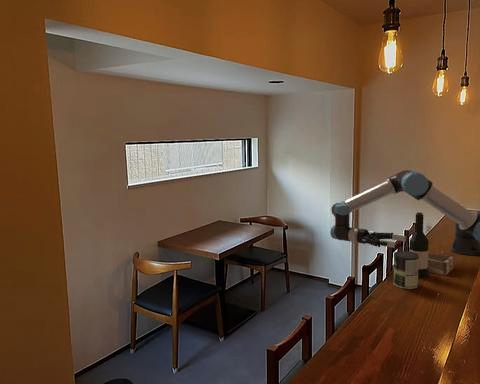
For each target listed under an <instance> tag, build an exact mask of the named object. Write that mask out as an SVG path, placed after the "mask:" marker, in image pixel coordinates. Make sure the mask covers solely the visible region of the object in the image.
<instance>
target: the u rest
mask: <svg viewBox="0 0 480 384" xmlns="http://www.w3.org/2000/svg"><path fill="white" fill-rule="evenodd" d="M454 259H455V256H454V255H453V256H452V255H447V254H440V253H434V252H429V251H428V273H433V274H438V275H442V276H447V275H448V274H449V273H450V272H451V271H452V270H454V267H455V265H454V263H455V260H454Z"/></svg>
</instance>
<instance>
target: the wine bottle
mask: <svg viewBox="0 0 480 384" xmlns="http://www.w3.org/2000/svg"><path fill="white" fill-rule="evenodd" d="M414 225H415V226H414V227H415V229H414V230H415V232H414V233H413V235H412V236H411V238H410V239H409V248H408V249H409V251H410V252H414V253H417V254H418V255H419V261H418V279H423V278H427V277H428V275H429V272H428V252H429V239H428V237H427V236H426V235H425V232H424V214H423V212H419V211H417V212H416V214H415V224H414Z"/></svg>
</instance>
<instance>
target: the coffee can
mask: <svg viewBox="0 0 480 384" xmlns="http://www.w3.org/2000/svg"><path fill="white" fill-rule="evenodd" d="M418 261H419V255H418V254H417V253H414V252H410V251H408V250H398V251H395V252H393V283H392V284H393V286H395V287H397V288H400V289H406V290H412V289H417V288H418V287H419V278H418Z"/></svg>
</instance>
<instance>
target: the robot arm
mask: <svg viewBox="0 0 480 384" xmlns="http://www.w3.org/2000/svg"><path fill="white" fill-rule="evenodd" d="M433 185H434V184H433V181H432V180H430V179H428V178H427V177H426V176H425V175H424V174H423V173H421V172H419V171H418V172H417V171H413V170H407V169H406V170H402V171H399V172H397V173H395V174H393V175H392V176H389V177H387V178H386V179H385V181H384V182H381V183H378V184H377V185H374V186H373V187H371V188H369V189H366V190H364V191H362V192H359V193H357V194H355V195H354V196H352V197H350V198H348V199H345V200H343V201H341V202H336V203H333V205H332V206H331V214H332V215H333V216H334V223H335V224H334V225H332V226H331V228H330V231H329V233H330V237H331V238H332V239H333V240H338V241H345V242H350V243H353V244H355V243H357V244H358V243H359V244H364V245H366V244H367V245H371V246H374V247H377V248H381V247H387V248H392V249H395V248H396V242H395V241H399V242H406V240H407V239H406V238H407V236H406V235H402V234H395V233H394V232H375V231H373V232H371V233H370V232H369V230H368V229H366V228H358V227H350V225H351V224H350V219H351V217H350V214H351V213H353V212H355V211H357V210H359V209H361V208H363V207H366V206H368V205H370V204H372V203H374V202H378V201H379V200H381V199H383V198H385V197H387V196H389V195H392V194H393V195H396V194H399V193H401V192H403V193H406V194H408V195H409V196H411V197H412V198H414V199H415V200H416V201H423V202H425V203H426V204H428V205H429V206H431V207H432V208H434V209H435V210H437V211H439V212H440V213H441V214H443V215H444V216H446V217H447V218H449V219H450V220H452V221H453V222H454V223H455V225H454V226H455V230H454V231H455V233H454V239H453V241H452V244H451V246H450V249H451V250H450V251H451V252H453V253H456V254H459V255H464V256H465V255H466V256H478V255H480V211H478V210H469V209H467V208H466V207H465V206H463V205H461V204H460V203H459V202H457V201H455V200H454V199H452V198H451V197H449V196H448V195H446V194H445V193H444V192H442V191H441V190H439V189H437V188H436V187H435V186H433ZM391 240H393V241H391Z"/></svg>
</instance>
